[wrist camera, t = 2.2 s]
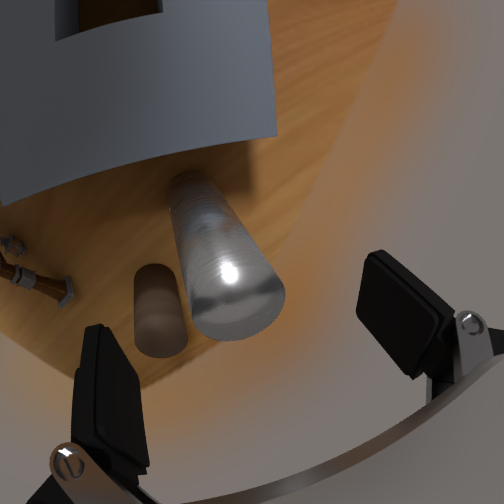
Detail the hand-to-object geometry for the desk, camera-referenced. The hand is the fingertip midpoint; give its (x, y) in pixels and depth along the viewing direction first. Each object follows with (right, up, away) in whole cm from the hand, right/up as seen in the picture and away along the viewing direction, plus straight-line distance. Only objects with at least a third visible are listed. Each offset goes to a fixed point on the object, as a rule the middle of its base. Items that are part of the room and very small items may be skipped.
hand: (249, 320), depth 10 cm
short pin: (-7, 0, +11) cm, 13 cm away
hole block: (-8, +16, +1) cm, 18 cm away
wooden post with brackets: (-16, +2, +7) cm, 17 cm away
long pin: (-4, +6, +9) cm, 11 cm away
